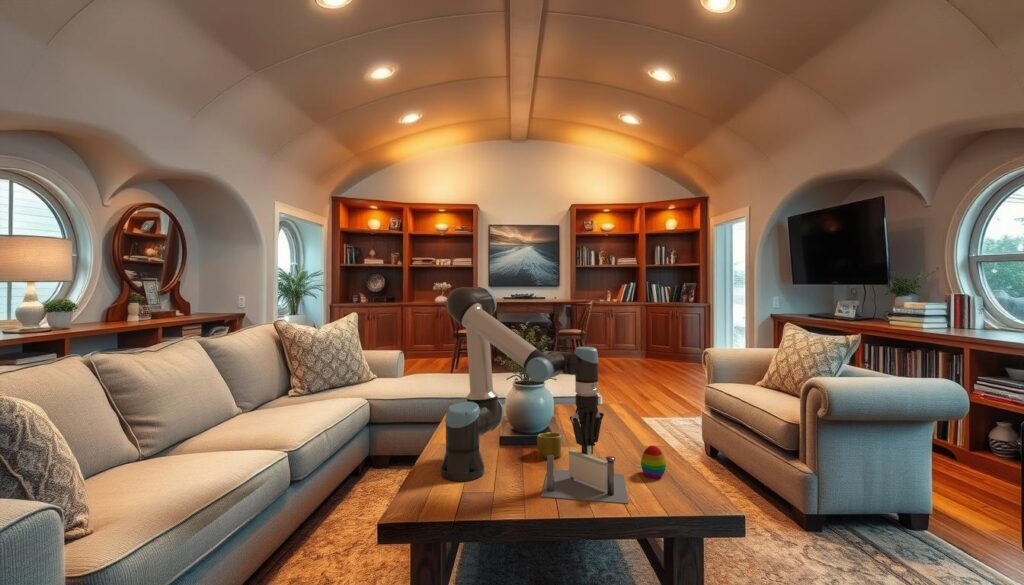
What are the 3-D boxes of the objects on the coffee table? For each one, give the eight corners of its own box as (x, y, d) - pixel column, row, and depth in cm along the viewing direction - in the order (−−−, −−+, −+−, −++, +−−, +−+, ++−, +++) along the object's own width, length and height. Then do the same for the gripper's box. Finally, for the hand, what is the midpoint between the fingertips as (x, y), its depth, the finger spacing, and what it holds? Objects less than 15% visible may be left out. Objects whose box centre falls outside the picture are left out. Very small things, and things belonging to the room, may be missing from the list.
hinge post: (606, 496, 142) (606, 459, 142) (605, 493, 145) (605, 456, 145) (615, 497, 142) (615, 459, 142) (615, 493, 145) (615, 456, 145)
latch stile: (546, 492, 146) (547, 457, 145) (547, 488, 148) (547, 454, 148) (555, 493, 145) (555, 457, 145) (555, 489, 148) (556, 454, 148)
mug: (564, 457, 171) (557, 429, 174) (538, 463, 173) (531, 436, 176) (569, 452, 183) (562, 427, 185) (544, 458, 185) (537, 433, 187)
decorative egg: (668, 473, 161) (668, 444, 161) (662, 481, 154) (662, 451, 154) (644, 468, 165) (644, 440, 165) (638, 476, 158) (638, 447, 158)
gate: (607, 491, 145) (608, 461, 145) (604, 492, 144) (604, 462, 144) (571, 476, 156) (571, 449, 156) (568, 478, 155) (568, 450, 155)
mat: (541, 497, 142) (541, 496, 142) (548, 469, 164) (548, 469, 164) (628, 503, 138) (628, 502, 138) (623, 475, 159) (623, 474, 159)
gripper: (578, 398, 148) (579, 472, 148) (609, 393, 154) (609, 464, 154) (564, 394, 154) (564, 464, 154) (594, 389, 160) (595, 457, 161)
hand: (587, 464), depth 154 cm, fingers closed
